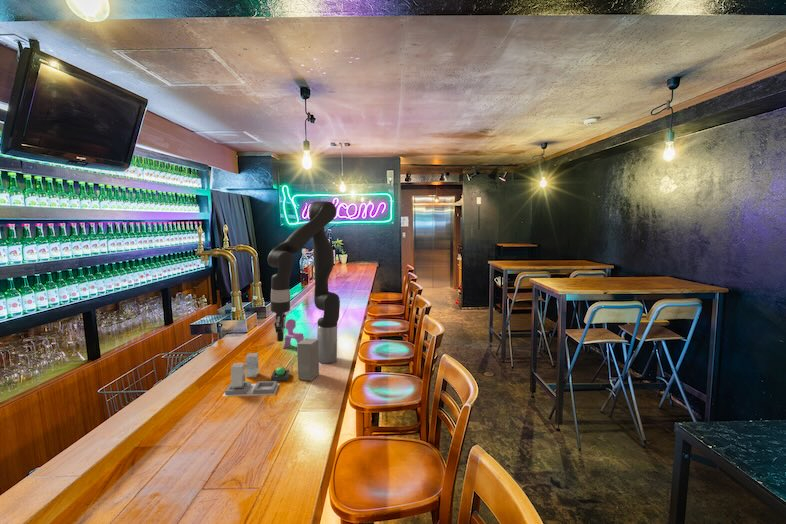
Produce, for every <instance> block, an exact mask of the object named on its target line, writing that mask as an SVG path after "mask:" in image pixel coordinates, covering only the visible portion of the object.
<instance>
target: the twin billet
mask: <svg viewBox="0 0 786 524" xmlns="http://www.w3.org/2000/svg"><path fill="white" fill-rule="evenodd" d="M230 380H231V381H230V383H231V389H244V388H245V382H246V362H233V364H232V365H231V366H230Z"/></svg>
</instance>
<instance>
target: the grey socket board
mask: <svg viewBox="0 0 786 524" xmlns="http://www.w3.org/2000/svg"><path fill="white" fill-rule="evenodd" d="M279 386H280V382H278V381H271V380H269V381H268V380H264V381H263V380H262V381H261V380H260V381H259V380H258V381H257V382H256V383H252V382H251V381H245V388H244V389H231V382H230V383H229V384H228V386H227V388H226V389H225V390H224V391H225V392H224V393H223V394H222V395H221V397H255V396H256V397H257V396H276V393H277V391H278V388H279Z"/></svg>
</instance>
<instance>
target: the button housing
mask: <svg viewBox="0 0 786 524" xmlns="http://www.w3.org/2000/svg"><path fill="white" fill-rule="evenodd" d="M290 373H291V372H290V369H285V375H278V376H276V369H274V370H273V372H272V374H271V376H270V381H277V382H288V381H289V377H290V375H291V374H290Z"/></svg>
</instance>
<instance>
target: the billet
mask: <svg viewBox="0 0 786 524" xmlns="http://www.w3.org/2000/svg"><path fill="white" fill-rule="evenodd" d="M259 370H260V369H259V352H250V353H249V352H248V353H247V354H246V356H245V379H246V378H257V377H258V376H259V374H260V372H259Z"/></svg>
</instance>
